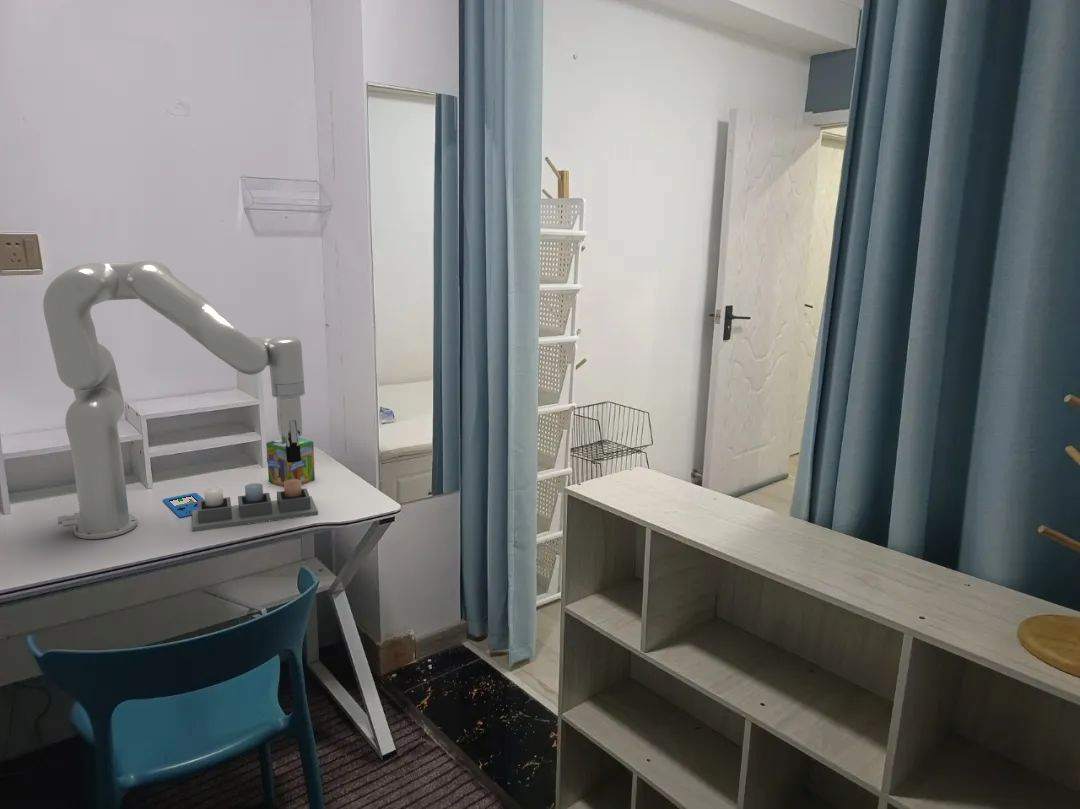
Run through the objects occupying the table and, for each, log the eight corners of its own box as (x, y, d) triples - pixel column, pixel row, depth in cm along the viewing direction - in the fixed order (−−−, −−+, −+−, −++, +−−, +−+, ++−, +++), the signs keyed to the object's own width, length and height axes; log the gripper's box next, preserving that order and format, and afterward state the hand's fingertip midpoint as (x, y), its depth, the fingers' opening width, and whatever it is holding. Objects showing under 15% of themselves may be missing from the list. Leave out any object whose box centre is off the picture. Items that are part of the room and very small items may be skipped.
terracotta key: (285, 497, 177) (284, 485, 176) (283, 492, 181) (283, 480, 180) (302, 495, 179) (301, 483, 178) (300, 490, 182) (299, 478, 182)
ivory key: (205, 507, 170) (204, 494, 169) (204, 501, 173) (203, 488, 172) (223, 505, 171) (222, 492, 171) (223, 499, 175) (222, 486, 174)
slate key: (246, 502, 173) (245, 489, 173) (245, 496, 177) (244, 484, 176) (263, 500, 175) (263, 487, 174) (262, 494, 179) (261, 482, 178)
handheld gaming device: (179, 515, 173) (161, 498, 184) (180, 520, 173) (162, 502, 184) (215, 508, 178) (195, 491, 189) (215, 512, 179) (196, 495, 189)
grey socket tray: (192, 531, 166) (191, 515, 165) (192, 514, 176) (191, 498, 175) (317, 514, 178) (317, 499, 177) (311, 499, 188) (310, 485, 187)
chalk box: (290, 489, 195) (287, 436, 191) (267, 482, 199) (264, 431, 196) (316, 479, 203) (314, 429, 199) (293, 473, 207) (291, 424, 204)
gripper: (268, 383, 179) (274, 454, 183) (274, 396, 165) (281, 472, 170) (300, 381, 182) (305, 450, 186) (308, 393, 168) (314, 468, 173)
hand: (293, 461), depth 178 cm, fingers closed
